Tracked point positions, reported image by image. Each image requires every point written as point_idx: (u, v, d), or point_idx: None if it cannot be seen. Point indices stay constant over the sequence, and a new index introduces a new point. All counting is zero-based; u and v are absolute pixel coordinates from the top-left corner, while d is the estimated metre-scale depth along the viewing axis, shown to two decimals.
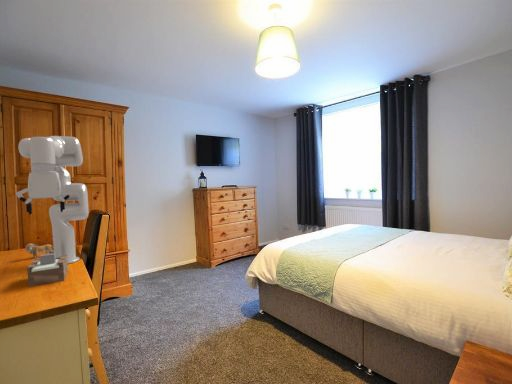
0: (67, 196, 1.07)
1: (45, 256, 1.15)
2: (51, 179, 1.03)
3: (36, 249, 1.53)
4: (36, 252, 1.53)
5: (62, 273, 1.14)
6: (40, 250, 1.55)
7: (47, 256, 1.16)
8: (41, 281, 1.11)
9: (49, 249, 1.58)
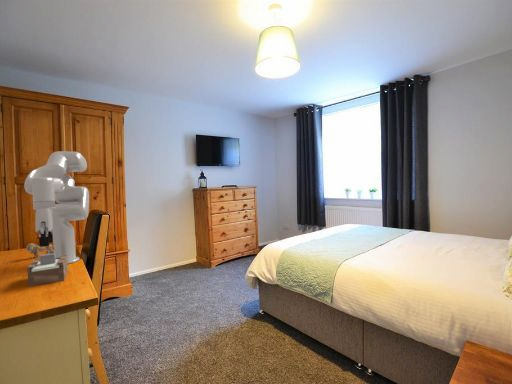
0: None
1: (45, 256, 1.15)
2: (52, 214, 1.19)
3: (37, 249, 1.53)
4: (37, 252, 1.53)
5: (62, 273, 1.14)
6: (41, 250, 1.55)
7: (47, 256, 1.16)
8: (41, 281, 1.11)
9: (50, 249, 1.58)
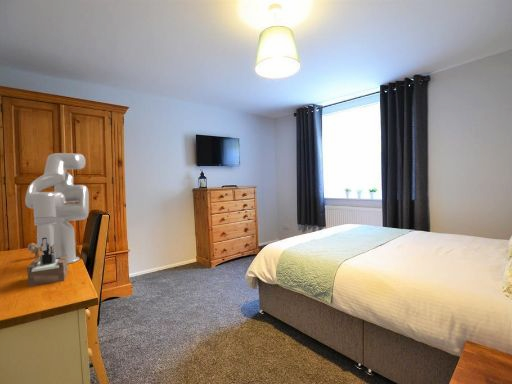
0: None
1: None
2: (53, 228, 1.19)
3: (38, 249, 1.54)
4: (38, 252, 1.54)
5: (62, 273, 1.14)
6: None
7: None
8: (41, 281, 1.11)
9: None
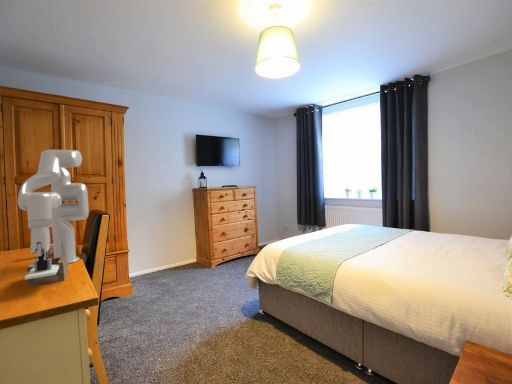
0: None
1: None
2: (49, 232, 1.10)
3: None
4: None
5: (62, 273, 1.14)
6: None
7: None
8: (41, 281, 1.11)
9: (53, 248, 1.59)
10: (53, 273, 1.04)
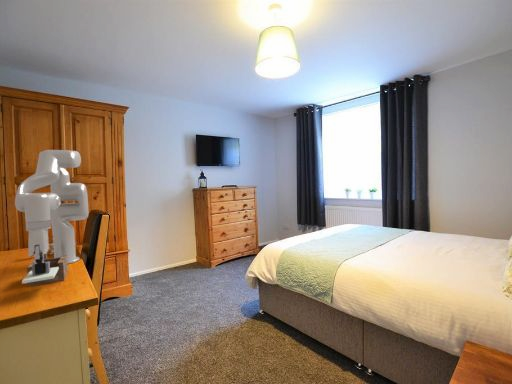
0: None
1: None
2: None
3: None
4: None
5: (62, 273, 1.14)
6: None
7: None
8: (41, 281, 1.11)
9: (53, 248, 1.60)
10: (51, 277, 1.01)
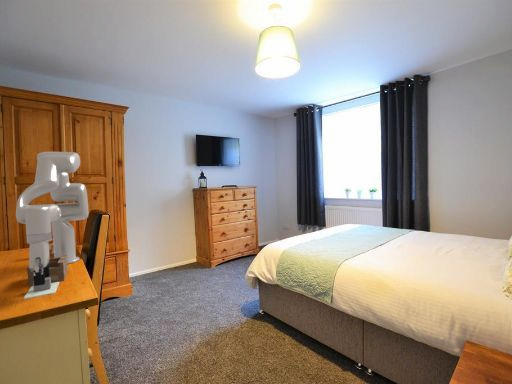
0: None
1: None
2: (48, 246, 1.07)
3: None
4: None
5: (62, 273, 1.14)
6: None
7: None
8: None
9: None
10: (53, 293, 1.01)
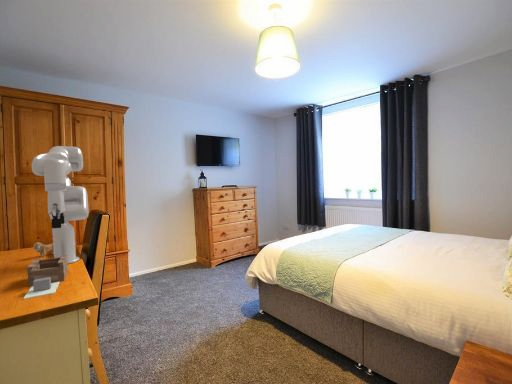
0: None
1: (39, 281, 1.03)
2: None
3: (43, 248, 1.56)
4: (44, 251, 1.56)
5: (62, 273, 1.14)
6: (47, 249, 1.58)
7: (41, 281, 1.03)
8: None
9: None
10: (52, 293, 1.01)
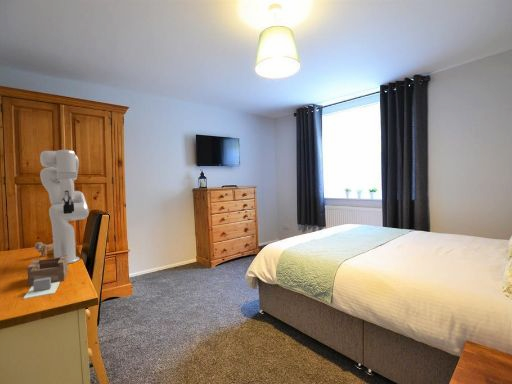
0: None
1: (39, 281, 1.03)
2: None
3: (45, 248, 1.56)
4: (45, 250, 1.56)
5: (62, 273, 1.14)
6: (48, 249, 1.58)
7: (41, 281, 1.03)
8: None
9: None
10: (52, 293, 1.01)
